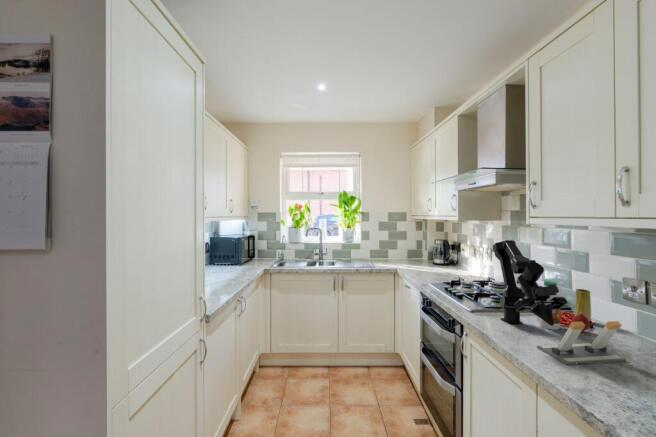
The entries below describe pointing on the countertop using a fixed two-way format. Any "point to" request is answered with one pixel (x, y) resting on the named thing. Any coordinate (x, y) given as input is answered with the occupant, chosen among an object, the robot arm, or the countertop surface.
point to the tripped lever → (570, 336)
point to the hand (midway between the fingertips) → (552, 325)
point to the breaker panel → (581, 354)
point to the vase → (583, 303)
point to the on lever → (605, 335)
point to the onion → (581, 320)
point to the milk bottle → (555, 313)
